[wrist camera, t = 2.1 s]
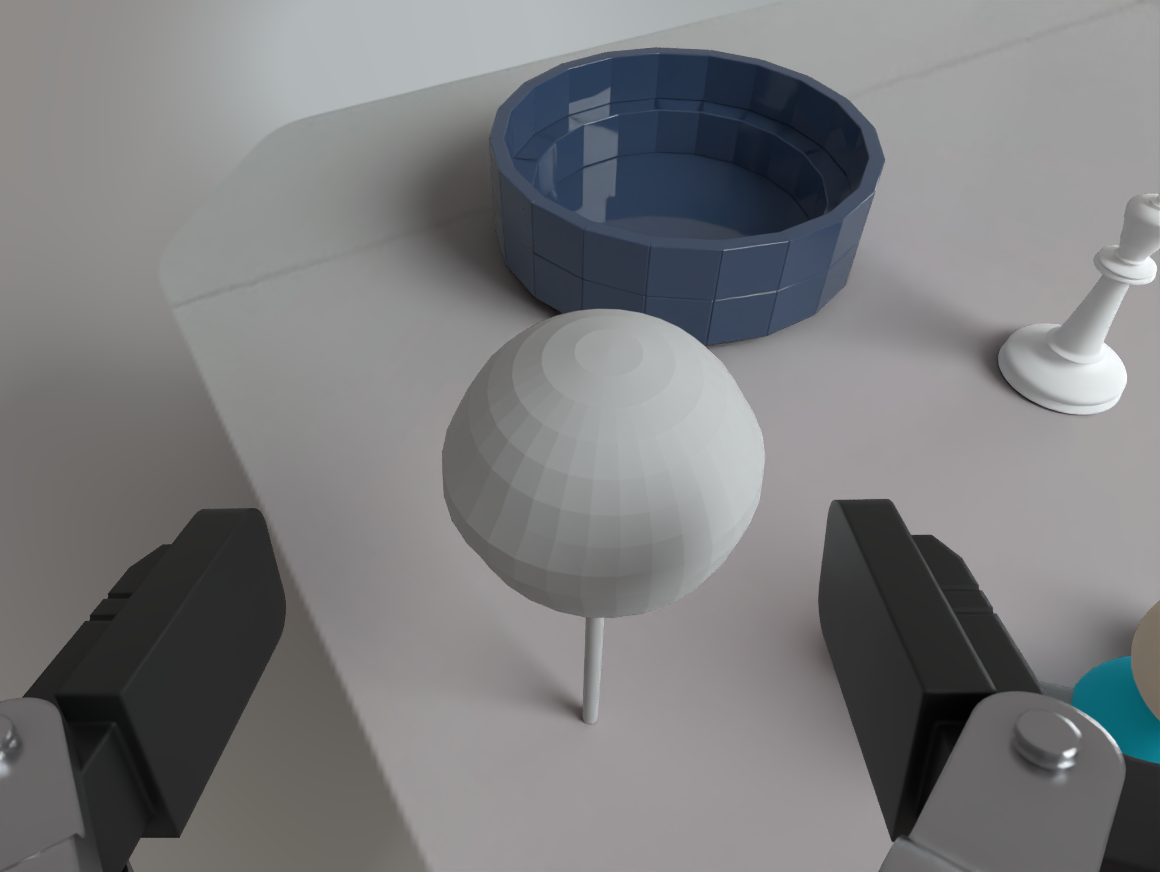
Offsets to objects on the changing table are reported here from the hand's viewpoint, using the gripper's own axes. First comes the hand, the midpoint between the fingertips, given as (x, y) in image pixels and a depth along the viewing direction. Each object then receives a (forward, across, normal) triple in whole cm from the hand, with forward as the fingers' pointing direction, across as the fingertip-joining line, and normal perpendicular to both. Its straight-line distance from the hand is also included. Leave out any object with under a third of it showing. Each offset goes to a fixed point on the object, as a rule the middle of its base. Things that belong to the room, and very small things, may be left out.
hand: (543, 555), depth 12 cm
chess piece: (+23, -20, +8) cm, 32 cm away
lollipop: (+8, 0, +12) cm, 15 cm away
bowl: (+32, -4, +4) cm, 32 cm away
